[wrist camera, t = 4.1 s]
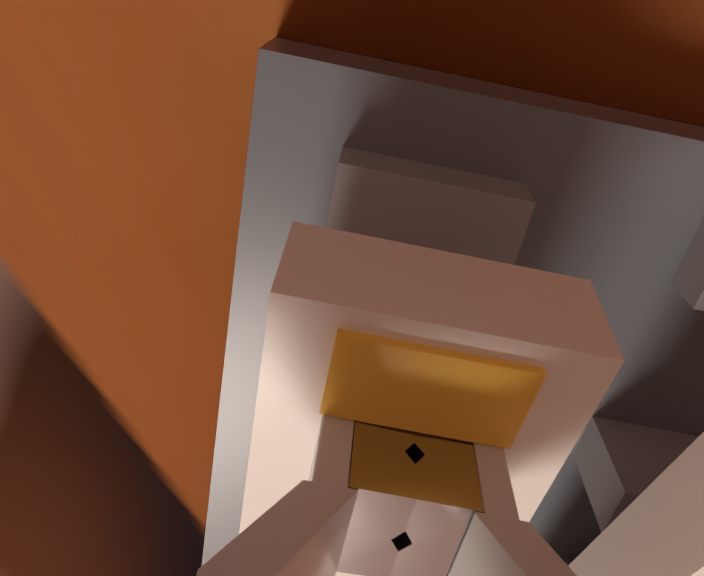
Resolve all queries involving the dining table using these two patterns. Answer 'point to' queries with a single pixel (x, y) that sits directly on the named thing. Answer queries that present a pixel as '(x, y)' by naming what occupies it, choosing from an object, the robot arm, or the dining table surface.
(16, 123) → the dining table surface
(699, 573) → the rocker
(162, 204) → the dining table surface
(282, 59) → the switch unit
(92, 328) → the dining table surface
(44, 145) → the dining table surface
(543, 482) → the block
